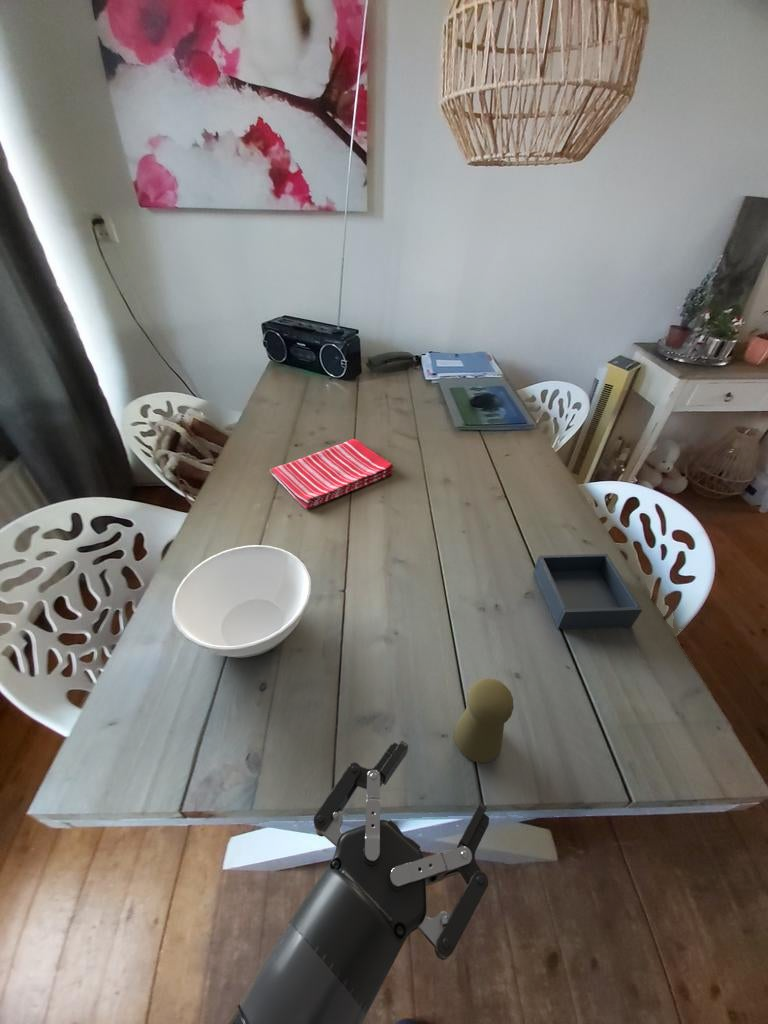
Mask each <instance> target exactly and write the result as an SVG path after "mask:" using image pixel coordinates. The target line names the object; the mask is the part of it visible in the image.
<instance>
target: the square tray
mask: <svg viewBox="0 0 768 1024" xmlns="http://www.w3.org/2000/svg"><path fill="white" fill-rule="evenodd" d="M532 573H533V576H534V578H535V579H536V583H537V585H538V587H539V589H540V591H541V594H542V596H543V599H544V601H545V603H546V606H547V608H548V610H549V613H550V615H551V617H552V619H553V622H554V624H555V627H556V629H557V630H575V629H578V630H579V629H602V628H603V629H604V628H605V629H607V628H631V627H633V626H634V624H635V622H636V621H637V619H639V616H640V615H641V613H642V611H643V609H642V607H641V605H640V604H639V602H638V600H637V599H636V598H635V595H634V594H633V593H632V591H631V589H630V587H629V586H628V585H627V583H626V582H625V580H624V579H623V577H622V575H621V574H620V572H619V570H618V569H617V568H616V565H615V564H614V562H613V561H612V560H611V558H610V556H609V554H608V553H588V554H587V553H586V554H584V553H583V554H547V555H546V554H545V555H542V554H541V555H538V557H537V560H536V563H535V566H534V569H533V571H532Z"/></svg>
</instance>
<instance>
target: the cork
mask: <svg viewBox="0 0 768 1024" xmlns="http://www.w3.org/2000/svg"><path fill="white" fill-rule="evenodd" d="M466 702H467V706H466V708H465V709H464V712H463V713H462V714H461V716H460V718H459V719H458V721H457V723H456V724H455V727H454V732H453V733H454V734H453V738H454V742H455V746H456V747H457V749H458V751H459V752H460V753H461V754H462V755H463V757H465V758H466V759H468V760H469V761H472V762H473V763H474V762H475V763H479V764H484V763H490V762H491V761H493V760H495V759H496V758H497V757H498V755H499V754H500V752H501V749H502V745H503V739H504V738H503V737H504V729H505V728H504V727H505V723H506V722H508V721H509V719H510V718H511V717H512V714H513V711H514V706H515V705H514V697H513V695H512V692H511V691H510V689H509V688H508V687H507V686H506V685H505V684H504V683H503V682H502V681H500V680H498V679H495V678H492V677H491V678H490V677H485V678H480V679H478V680H476V681H475V682H474V683H473V684H472V685H471V686H470V687H469V690H468V692H467V698H466Z"/></svg>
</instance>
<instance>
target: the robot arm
mask: <svg viewBox="0 0 768 1024" xmlns="http://www.w3.org/2000/svg"><path fill="white" fill-rule="evenodd" d="M408 752H409V744H408V743H407V742H405V741H404V740H400V742H399V744H398V743H397V742H393V743H392V744H390V745H389V747H388V748H387V749H386V751H384V753H383V754H382V756H381V757H380V759H379V760H378V761H377V763H376V764H375V766H374V767H372V768H366V767H363V766H361V765H360V764H359V763H358V762H351V763H349V765H348V766H347V767H346V769H345V771H344V772H343V774H342V775H341V777H340V778H339V779H338V781H337V783H336V784H335V785H334V786H333V788H332V789H331V791H330V792H329V794H328V795H327V797H326V798H325V800H324V801H323V803H322V804H321V806H320V807H319V808H318V810H317V811H316V813H315V815H314V816H313V826H314V830H315V834H317V836H318V837H324V838H326V839H327V840H328V842H330V843H331V844H332V845H334V846H335V851H334V854H333V857H332V858H331V861H330V862H329V864H328V865H327V866H326V868H325V869H324V871H323V872H322V874H321V876H320V877H319V878H318V879H317V881H316V882H315V884H314V886H312V888H311V890H310V891H309V893H308V894H307V895H306V897H305V898H304V900H303V901H302V903H301V904H300V906H299V907H298V909H297V910H296V911H295V913H294V915H293V916H292V917H291V919H290V920H289V922H288V923H287V924H286V926H285V927H284V929H283V930H282V931H281V933H280V934H279V936H278V937H277V939H276V940H275V942H274V943H273V944H272V946H271V947H270V949H269V951H268V952H267V954H265V957H264V958H263V959H262V961H261V963H260V964H259V967H258V968H257V970H256V972H255V973H254V975H253V977H252V979H251V981H250V983H249V985H248V986H247V988H246V989H245V992H244V993H243V994H242V996H241V997H240V999H239V1001H238V1003H239V1004H236V1006H235V1007H234V1008H233V1010H232V1011H231V1013H230V1014H229V1016H228V1017H227V1019H226V1020H225V1021H224V1023H223V1024H363V1022H364V1020H365V1018H366V1017H367V1014H368V1013H369V1011H370V1009H371V1007H372V1005H373V1003H374V1002H375V1000H376V997H377V996H378V994H379V992H380V990H381V988H382V986H383V984H384V982H385V981H386V978H387V976H388V975H389V973H390V970H391V968H392V967H393V964H394V963H395V961H396V959H397V957H398V955H399V953H400V952H401V950H402V948H403V946H404V943H405V942H406V940H407V938H408V937H409V936H410V935H411V933H413V932H414V931H416V930H418V931H419V932H421V934H422V935H423V936H424V938H425V939H426V940H427V941H428V942H429V943H430V944H431V945H432V946H433V947H434V954H435V956H436V957H437V958H438V959H439V960H441V961H445V960H446V961H447V959H448V958H449V957H450V956H451V955H452V954H454V951H455V949H456V947H457V945H458V943H459V941H460V939H461V938H462V935H463V934H464V931H465V930H466V928H467V926H468V924H469V922H470V920H471V919H472V916H473V915H474V913H475V911H476V909H477V907H478V905H479V903H480V902H481V900H482V898H483V896H484V894H485V892H486V890H487V888H488V886H489V879H488V876H487V874H486V873H485V872H484V871H482V869H481V868H480V866H479V865H478V863H477V861H476V856H475V855H476V852H477V849H478V847H479V845H480V843H481V841H482V840H483V837H484V835H485V833H486V831H487V829H488V827H489V824H490V817H489V815H487V814H486V810H487V809H488V806H487V805H485V804H484V803H483V802H481V801H480V802H479V803H478V805H477V807H476V809H475V810H474V813H473V815H472V817H471V819H470V821H469V822H468V824H467V826H466V828H465V830H464V832H463V834H462V836H461V838H460V840H459V842H458V844H457V846H456V848H452V849H450V850H447V851H444V852H437V853H433V854H431V855H428V856H424V853H423V852H422V850H421V846H420V845H419V844H418V843H417V842H416V841H415V840H414V839H412V838H411V837H408V836H406V835H404V834H403V832H402V830H401V829H400V828H399V826H398V825H397V824H396V823H395V822H394V821H393V820H391V819H389V820H387V819H381V787H382V785H384V786H386V785H387V783H388V781H389V780H390V779H391V778H392V776H393V774H394V773H395V772H396V770H397V769H398V767H399V766H400V764H401V763H402V761H403V760H404V758H405V757H406V755H407V753H408ZM358 787H359V788H361V789H364V790H366V795H365V796H366V797H365V798H366V799H365V824H364V825H360V826H358V827H355V828H352V829H349V830H346V831H344V832H342V830H341V829H342V826H343V822H344V819H343V818H344V817H343V812H342V811H343V810H344V809H345V807H346V805H347V804H348V803H349V801H350V800H351V798H352V796H353V794H354V793H355V792H356V791H357V789H358ZM458 874H460V875H461V877H462V879H463V881H464V882H465V883H466V887H465V888H464V890H463V892H462V894H461V896H460V897H459V899H458V901H457V903H456V905H454V906H455V907H454V908H453V910H452V912H451V913H450V914H449V913H448V912H447V911H445V910H444V911H443V910H441V911H440V912H438V913H437V914H436V915H435V916H433V917H431V916H429V915H427V909H428V908H427V887H428V886H430V885H433V884H436V883H439V882H442V881H443V880H444V879H446V878H449V877H453V876H455V875H458Z"/></svg>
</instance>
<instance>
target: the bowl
mask: <svg viewBox="0 0 768 1024" xmlns="http://www.w3.org/2000/svg"><path fill="white" fill-rule="evenodd" d="M311 593H312V580H311V576H310V573H309V571H308V568H307V567H306V565H305V564H304V563H303V562H302V561H301V560H300V559H299V557H297V556H295V554H293V553H291V552H289V551H287V550H285V549H283V548H279V547H275V546H271V545H262V544H261V545H260V544H251V545H244V546H236V547H233V548H229V549H227V550H223V551H221V552H219V553H216V554H214V555H212V556H210V557H208V558H207V559H205V560H202V562H200V563H199V564H198V565H196V566H195V567H194V568H193V569H191V570H190V571H189V573H188V574H187V575H185V577H184V578H183V579H182V581H181V583H180V584H179V585H178V587H177V589H176V591H175V594H174V597H173V599H172V607H171V608H172V609H171V612H172V618H173V622H174V625H175V626H176V628H177V630H178V632H179V633H180V634H181V635H182V636H183V637H184V638H185V639H186V640H188V642H189V641H190V642H191V643H192V644H194V645H196V646H197V647H199V648H201V649H202V650H205V651H206V652H208V653H210V654H213V655H217V656H221V657H229V658H240V659H241V658H250V657H255V656H259V655H262V654H264V653H267V652H269V651H270V650H272V649H274V648H276V647H278V645H279V644H281V643H282V642H283V641H285V639H286V638H287V637H289V635H291V633H292V632H293V631H294V629H296V628H297V626H298V625H299V623H300V621H301V619H302V617H303V615H304V614H305V612H306V608H307V606H308V604H309V601H310V598H311Z"/></svg>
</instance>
